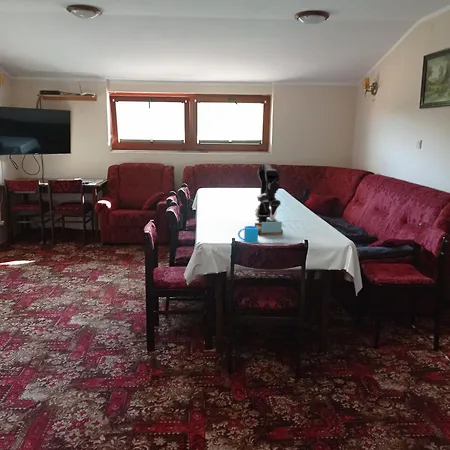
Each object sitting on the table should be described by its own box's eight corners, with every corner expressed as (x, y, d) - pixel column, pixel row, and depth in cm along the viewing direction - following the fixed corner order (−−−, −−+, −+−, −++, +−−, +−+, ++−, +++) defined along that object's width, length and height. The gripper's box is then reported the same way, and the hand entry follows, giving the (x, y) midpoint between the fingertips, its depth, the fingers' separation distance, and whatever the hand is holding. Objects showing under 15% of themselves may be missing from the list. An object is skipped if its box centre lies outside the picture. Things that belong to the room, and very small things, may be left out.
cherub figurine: (270, 204, 315) (282, 206, 296) (270, 220, 316) (281, 223, 297) (254, 204, 310) (265, 206, 292) (254, 220, 312) (264, 223, 293)
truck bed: (252, 231, 272) (253, 222, 271) (276, 230, 276) (276, 222, 275) (258, 235, 261) (259, 226, 259) (283, 234, 265) (283, 226, 264)
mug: (256, 239, 252) (257, 225, 250) (258, 242, 244) (259, 229, 242) (236, 239, 251) (237, 225, 249) (238, 242, 243) (239, 228, 241)
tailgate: (260, 232, 261) (261, 222, 259) (281, 232, 264) (281, 221, 263) (261, 233, 260) (261, 222, 258) (281, 232, 263) (282, 221, 262)
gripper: (253, 187, 269) (252, 211, 272) (264, 191, 251) (263, 217, 255) (269, 187, 272) (268, 211, 276) (281, 191, 255) (280, 216, 258)
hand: (269, 213), depth 266 cm, fingers open, 9 cm apart
